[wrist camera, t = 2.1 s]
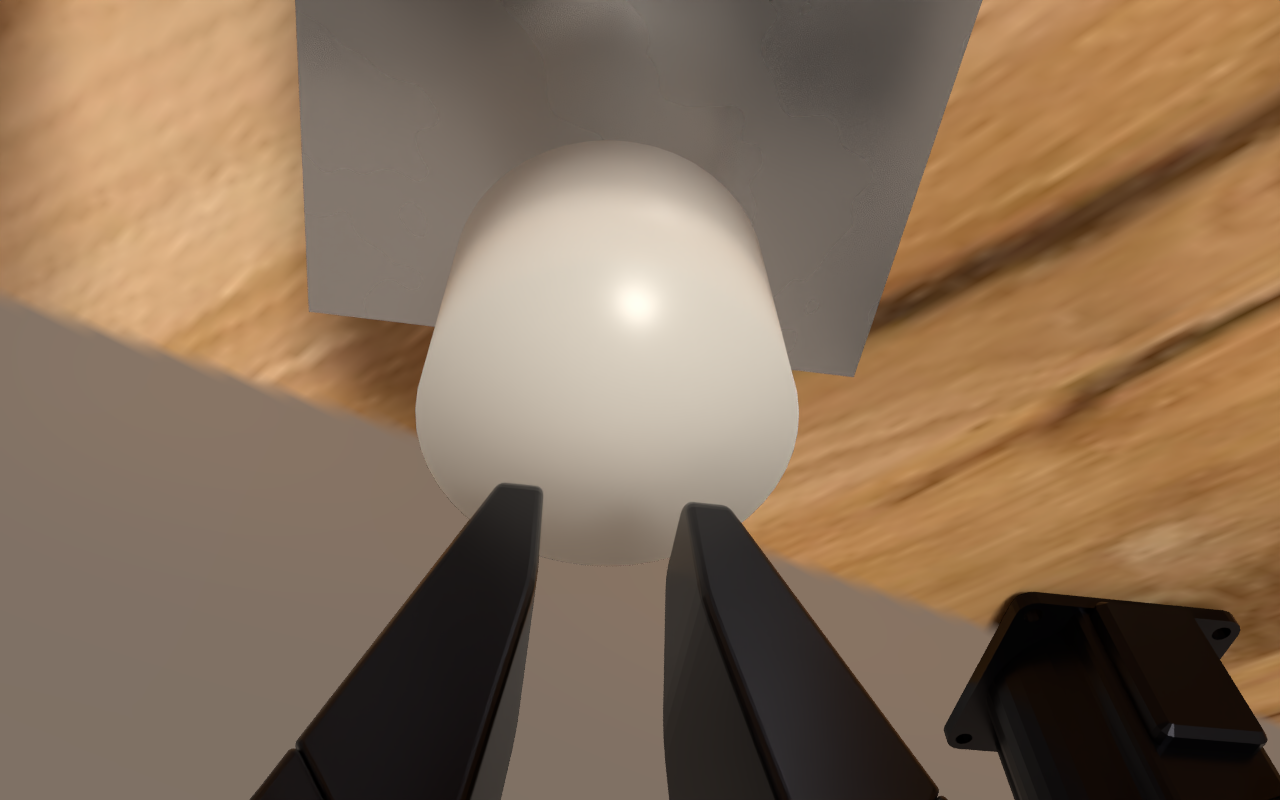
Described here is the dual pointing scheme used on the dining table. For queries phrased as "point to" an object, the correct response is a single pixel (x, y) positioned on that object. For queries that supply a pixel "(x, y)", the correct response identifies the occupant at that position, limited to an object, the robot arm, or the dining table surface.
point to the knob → (608, 353)
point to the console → (624, 132)
